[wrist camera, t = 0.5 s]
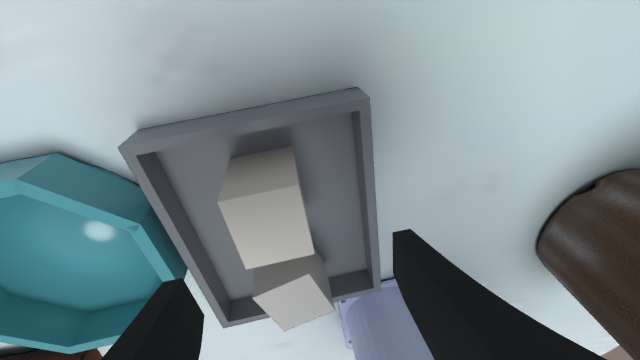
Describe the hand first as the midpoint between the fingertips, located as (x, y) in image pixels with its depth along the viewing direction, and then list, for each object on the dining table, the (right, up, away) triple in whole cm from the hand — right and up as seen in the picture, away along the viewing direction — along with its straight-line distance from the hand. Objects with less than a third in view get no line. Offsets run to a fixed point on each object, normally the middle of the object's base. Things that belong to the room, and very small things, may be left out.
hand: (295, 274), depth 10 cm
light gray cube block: (-1, -3, +13) cm, 13 cm away
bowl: (-16, -1, +10) cm, 19 cm away
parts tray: (-2, +1, +11) cm, 11 cm away
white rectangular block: (-2, +3, +9) cm, 10 cm away
